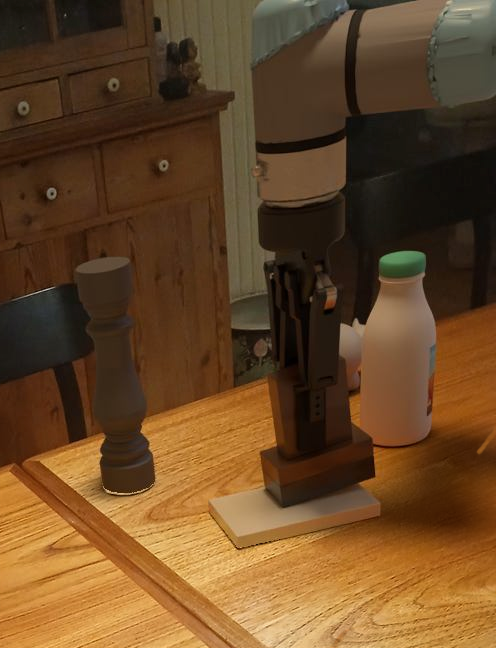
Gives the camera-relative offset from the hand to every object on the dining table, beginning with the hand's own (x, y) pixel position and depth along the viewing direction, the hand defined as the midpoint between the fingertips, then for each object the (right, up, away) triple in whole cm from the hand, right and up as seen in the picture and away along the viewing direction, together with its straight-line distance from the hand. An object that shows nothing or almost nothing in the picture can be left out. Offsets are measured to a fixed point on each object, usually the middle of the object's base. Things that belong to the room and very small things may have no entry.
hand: (304, 441), depth 100 cm
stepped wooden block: (+2, -4, +3) cm, 5 cm away
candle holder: (-16, -2, +15) cm, 22 cm away
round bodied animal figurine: (+14, +13, +28) cm, 34 cm away
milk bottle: (+14, +3, +14) cm, 20 cm away
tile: (-1, -7, +3) cm, 8 cm away
